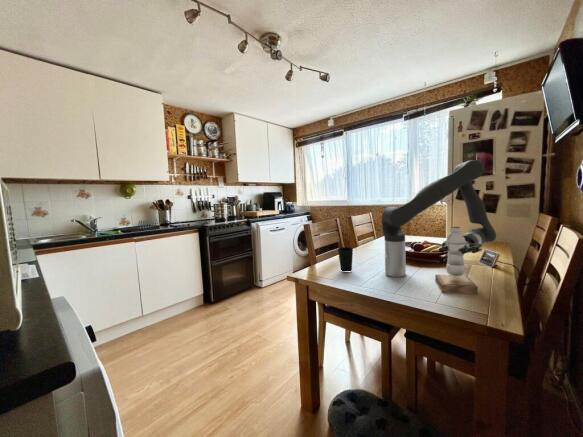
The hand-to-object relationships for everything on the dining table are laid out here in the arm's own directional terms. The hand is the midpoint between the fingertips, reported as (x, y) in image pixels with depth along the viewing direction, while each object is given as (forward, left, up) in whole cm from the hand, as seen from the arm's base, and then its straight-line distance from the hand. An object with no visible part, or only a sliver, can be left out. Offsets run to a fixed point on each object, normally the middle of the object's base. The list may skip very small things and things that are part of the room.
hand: (453, 250), depth 101 cm
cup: (-45, +17, -16) cm, 51 cm away
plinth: (+1, +2, -16) cm, 16 cm away
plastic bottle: (+1, +2, -11) cm, 11 cm away
